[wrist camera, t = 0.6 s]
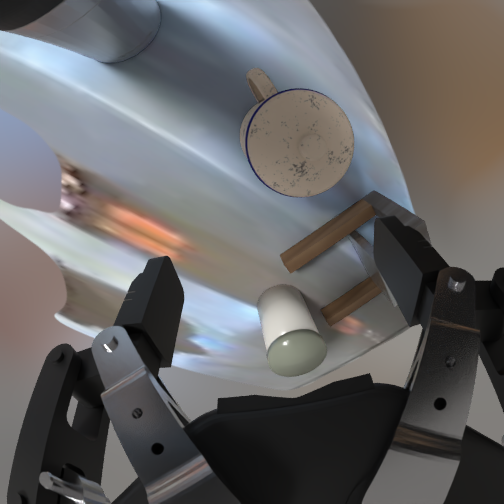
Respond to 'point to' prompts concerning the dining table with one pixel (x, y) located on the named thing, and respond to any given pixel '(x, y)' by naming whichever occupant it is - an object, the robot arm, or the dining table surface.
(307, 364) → the jar
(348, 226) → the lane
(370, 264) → the pusher
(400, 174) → the dining table surface
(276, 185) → the teacup with lid
